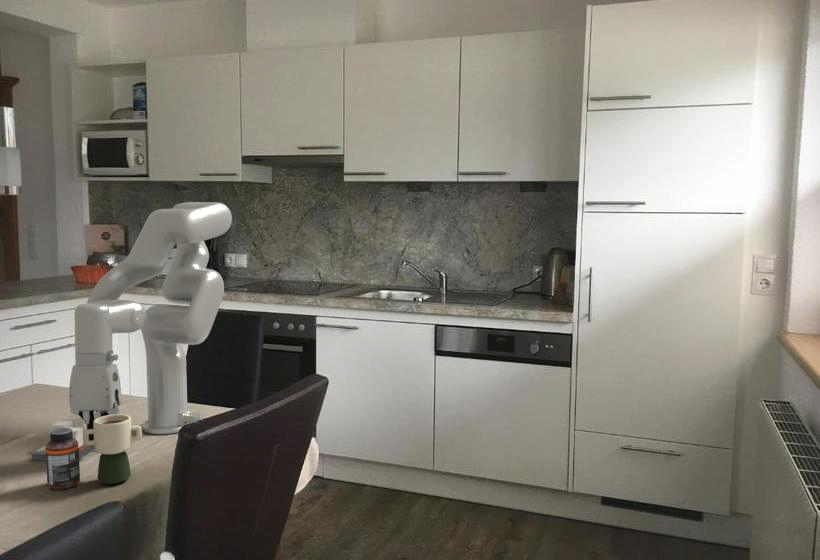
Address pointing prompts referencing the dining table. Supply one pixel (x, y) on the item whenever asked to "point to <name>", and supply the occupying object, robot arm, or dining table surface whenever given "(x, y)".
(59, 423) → the block
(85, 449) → the panel
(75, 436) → the block
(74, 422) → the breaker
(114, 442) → the character mug
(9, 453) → the dining table surface
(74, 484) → the supplement bottle
